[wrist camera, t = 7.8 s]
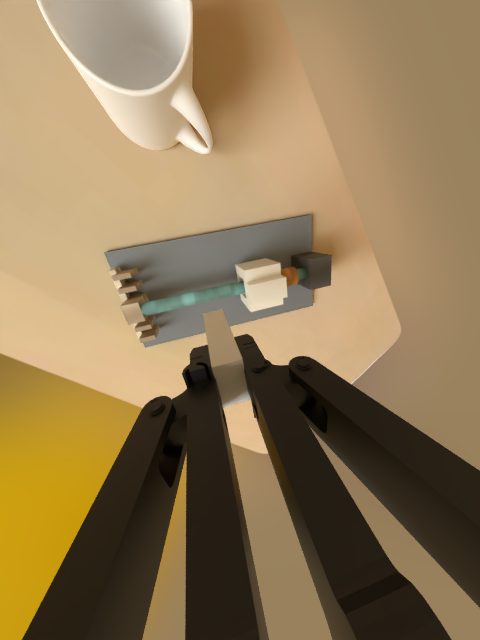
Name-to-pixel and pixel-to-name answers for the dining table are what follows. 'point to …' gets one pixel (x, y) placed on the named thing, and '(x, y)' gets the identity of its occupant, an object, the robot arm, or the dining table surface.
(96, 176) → the dining table surface
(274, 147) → the dining table surface
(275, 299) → the sleeve
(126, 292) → the comb rail
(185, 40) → the mug
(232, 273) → the mat
